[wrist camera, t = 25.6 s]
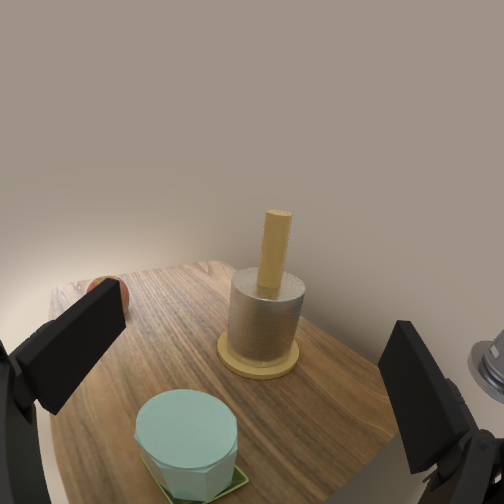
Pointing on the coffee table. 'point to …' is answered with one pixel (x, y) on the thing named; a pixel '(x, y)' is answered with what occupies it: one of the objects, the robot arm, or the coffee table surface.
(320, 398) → the coffee table surface
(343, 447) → the coffee table surface
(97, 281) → the apple
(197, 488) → the jar
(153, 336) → the coffee table surface
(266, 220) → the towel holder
